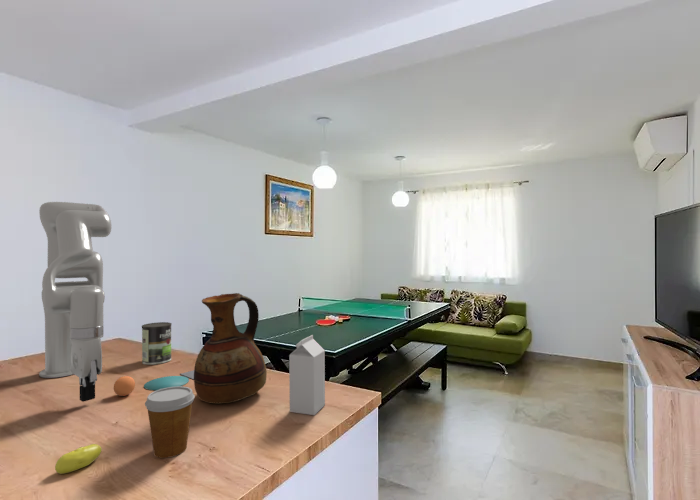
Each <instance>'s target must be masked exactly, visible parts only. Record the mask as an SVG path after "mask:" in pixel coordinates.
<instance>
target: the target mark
mask: <svg viewBox="0 0 700 500" xmlns="http://www.w3.org/2000/svg"><path fill="white" fill-rule="evenodd" d="M189 379H190V378H188V377H185V376H183V375H169V376H168V375H167V376H162V377H158V378H153V379H151V380H149V381H147V382H145V383H144V384H143V388H144V389H146V390H148V391H157V390H159V389H163V388H168V387H177V386H182V387H184V385H186V384H188V383H189V382H190V380H189Z"/></svg>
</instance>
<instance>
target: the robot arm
mask: <svg viewBox="0 0 700 500" xmlns="http://www.w3.org/2000/svg"><path fill="white" fill-rule="evenodd" d="M39 220H40V223H41V225H42V228H43V230H44V231H45V233H46V237H47V238H46V240H47V268H46V269H45V272H44V274H43V276H42V282H41V284H42V285H41V286H42V287H41V289H42V291H41V301H42V302H41V303H42V307H43V313H44V363H45V364H44V369H42V370H41V371H40V372H39V373H38V374H39V377H40V378H44V379H49V378H50V379H51V378H52V379H53V378H62V377H66V376H73V375H75V376H76V377H78V379H79V380H78V381H79V401H81V402H82V403H84V402H87V401H91V400H94V399H95V398H96V382H97V381H98V375H101V373H102V371H103V351H102V340H101V339H102V338H104V303H105V300H106V299H105V291H104V290H103V289H104V288H103V287H104V286H103V285H104V284H103V283H104V282H103V280H104V278H103V277H104V261H103V257H102V256H101V254H100V253H99V252H97V251H94V250H93V241H92V238H107V237H108V236H110V235H111V232H112V220H111V217H110V215H109V214H108V212H107V211H106V209H104V207H102V206H101V205H100V204H95V203H94V204H93V203H82V202H81V203H79V202H70V201H69V202H68V201H67V202H66V201H48V202H44V203H42V204H41V205H40V207H39ZM78 278H79V279H82V278H83V279H86V280H82V281H81V280H80V281H79V280H76V281H74V280H73V281H57V282H55V280H56V279H78Z"/></svg>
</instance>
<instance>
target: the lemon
mask: <svg viewBox="0 0 700 500" xmlns="http://www.w3.org/2000/svg"><path fill="white" fill-rule="evenodd" d="M102 450H103V449H102V447H101V446H100V445H99V444H97V443H91V444H88V445H85V446H81V447H78V448H76V449H74V450H72V451H69V452H67V453H63V455H61V456H60V457H59V458H58V459H57V461H56V463H55V466H54V469H55V471H56V473H58V474H61V475H64V474H69V473H71V472H74V471H77V470H79V469H82V468H85V467H87V466H89V465H90V464H92V463H93V462H94V461H95V460H96V459H97V458H98V457H99V456H100V455H101V452H102Z"/></svg>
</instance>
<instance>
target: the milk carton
mask: <svg viewBox="0 0 700 500" xmlns="http://www.w3.org/2000/svg"><path fill="white" fill-rule="evenodd" d="M295 347H296V348H295V349H294V350H293V351H292V352H291V353H290V354H289V355H288V357H289V360H288V361H289V365H288V367H289V370H288V371H289V379H288V381H289V412H290V413H295V414H296V413H297V414H304V415H309V416H316V415H317V413H318V412H319V411H321V409H323V408H324V406H326V385H325V384H326V382H325V381H326V380H325V378H326V376H325V375H326V372H325V371H326V370H325V368H326V367H325V366H326V364H325V363H326V361H325V360H326V359H325V353H326V352H325V348H323V347H322V345H320V344H319V343H318V342H317V341H316V340H315V339H314V334H311V335H310V336H309V335H308V336H307V337H305V338H303V339H301V340H300V341H299V342H298V343H296V344H295Z"/></svg>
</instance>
